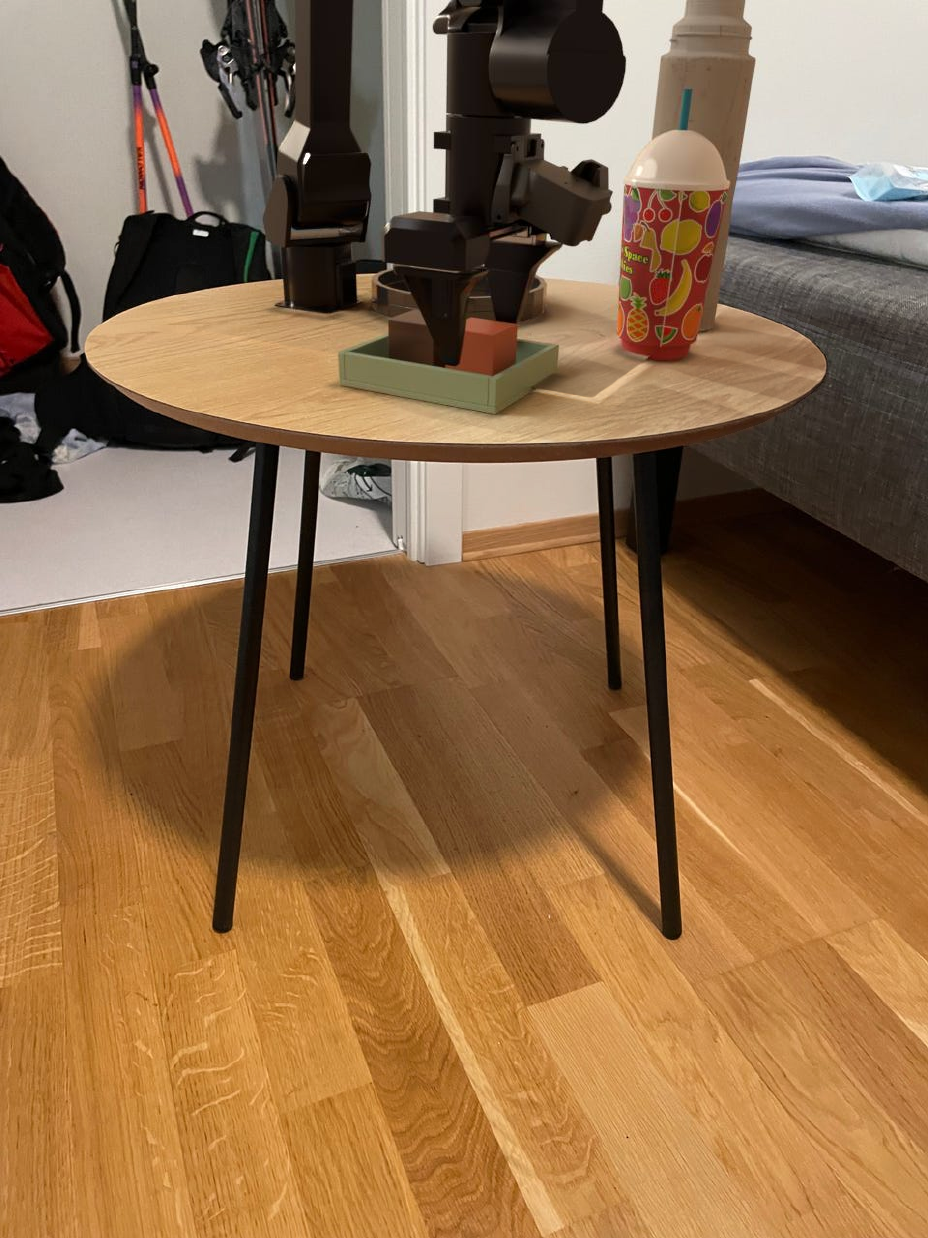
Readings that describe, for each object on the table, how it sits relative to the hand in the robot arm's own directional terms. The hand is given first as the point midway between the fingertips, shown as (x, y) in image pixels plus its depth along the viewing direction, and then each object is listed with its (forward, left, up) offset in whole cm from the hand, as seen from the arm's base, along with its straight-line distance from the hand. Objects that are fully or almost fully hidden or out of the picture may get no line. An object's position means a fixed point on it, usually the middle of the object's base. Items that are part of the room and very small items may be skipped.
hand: (480, 351), depth 70 cm
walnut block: (-5, 0, -2) cm, 5 cm away
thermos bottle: (+7, +29, -3) cm, 30 cm away
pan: (-13, +22, -3) cm, 26 cm away
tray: (-2, 0, -3) cm, 4 cm away
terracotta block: (0, 0, -2) cm, 2 cm away
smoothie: (+9, +17, -3) cm, 19 cm away
